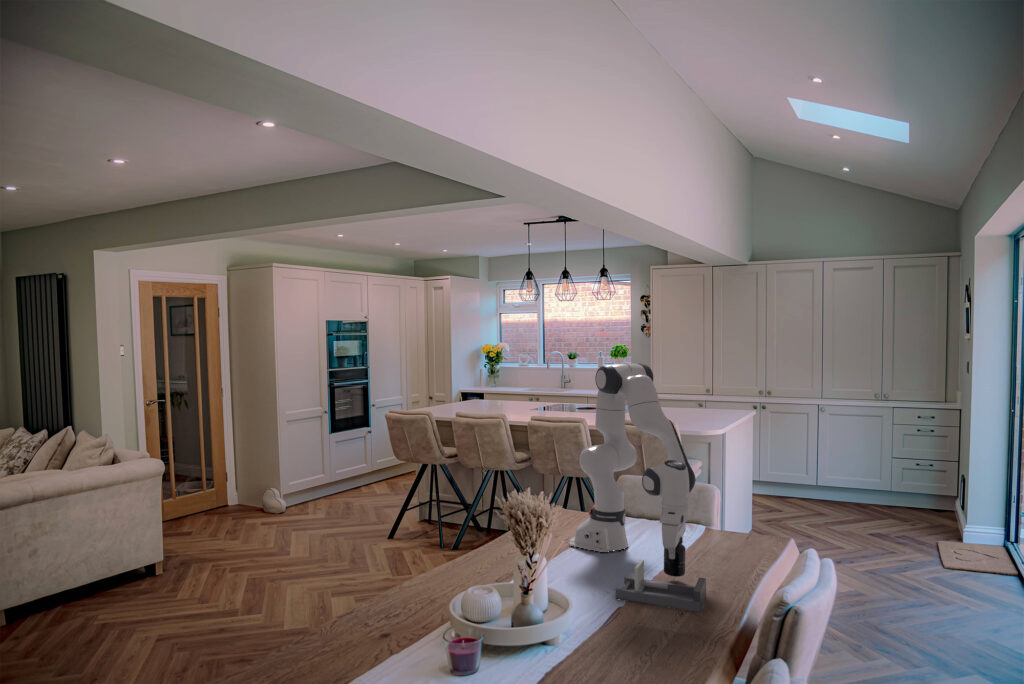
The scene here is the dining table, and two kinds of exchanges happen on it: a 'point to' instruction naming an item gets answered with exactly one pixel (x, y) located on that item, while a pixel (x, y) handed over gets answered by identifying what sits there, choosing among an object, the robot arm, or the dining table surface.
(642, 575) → the pusher
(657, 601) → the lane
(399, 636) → the dining table surface
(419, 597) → the dining table surface
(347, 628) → the dining table surface
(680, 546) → the supplement bottle
